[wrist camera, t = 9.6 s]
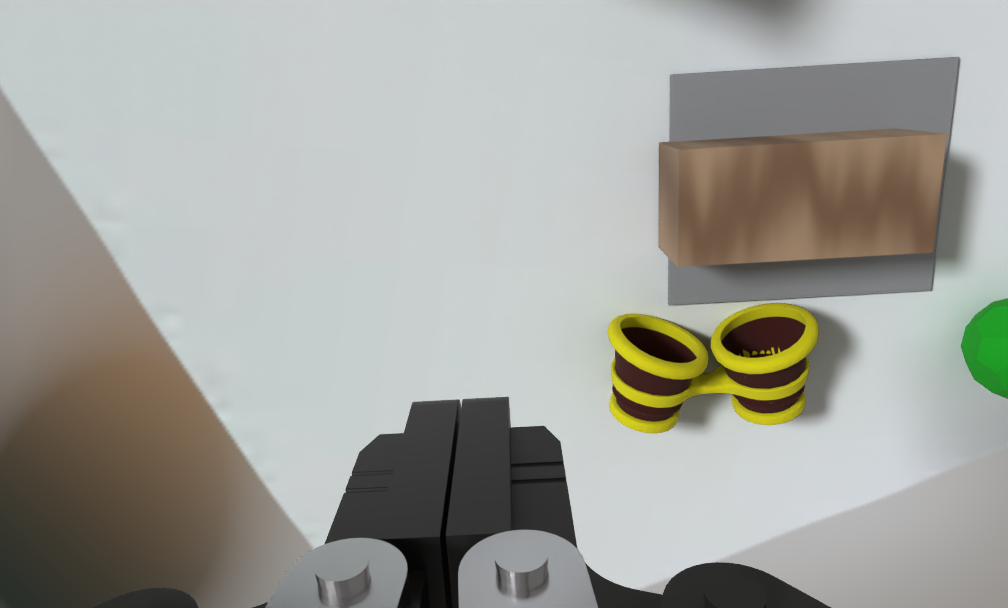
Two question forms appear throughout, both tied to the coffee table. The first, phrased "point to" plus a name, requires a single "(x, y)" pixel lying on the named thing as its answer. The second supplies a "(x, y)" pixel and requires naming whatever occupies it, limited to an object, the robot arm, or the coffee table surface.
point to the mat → (803, 110)
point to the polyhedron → (988, 347)
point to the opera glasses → (743, 371)
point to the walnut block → (799, 196)
